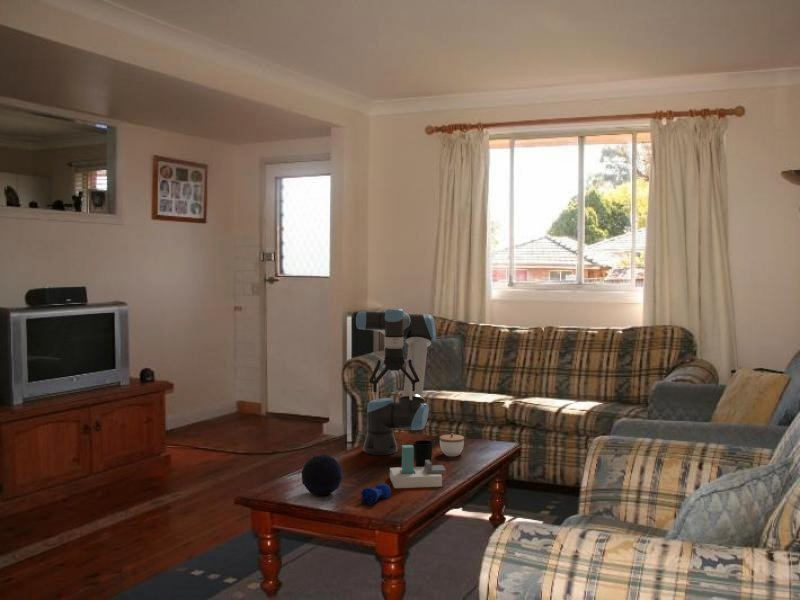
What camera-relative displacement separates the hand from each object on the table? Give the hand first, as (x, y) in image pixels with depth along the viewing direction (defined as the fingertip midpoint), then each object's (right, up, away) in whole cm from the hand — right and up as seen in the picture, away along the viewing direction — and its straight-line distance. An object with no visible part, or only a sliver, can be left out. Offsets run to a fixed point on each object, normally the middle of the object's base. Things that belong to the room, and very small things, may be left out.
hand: (394, 399), depth 317 cm
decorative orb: (-26, -31, -31) cm, 51 cm away
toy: (-6, -31, -37) cm, 49 cm away
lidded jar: (+25, -28, +27) cm, 46 cm away
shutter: (+16, -25, -15) cm, 33 cm away
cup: (+12, -29, -1) cm, 31 cm away
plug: (+5, -30, -16) cm, 34 cm away
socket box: (+8, -29, -16) cm, 34 cm away
